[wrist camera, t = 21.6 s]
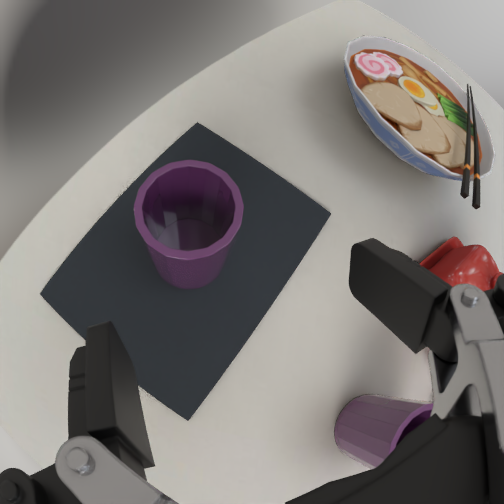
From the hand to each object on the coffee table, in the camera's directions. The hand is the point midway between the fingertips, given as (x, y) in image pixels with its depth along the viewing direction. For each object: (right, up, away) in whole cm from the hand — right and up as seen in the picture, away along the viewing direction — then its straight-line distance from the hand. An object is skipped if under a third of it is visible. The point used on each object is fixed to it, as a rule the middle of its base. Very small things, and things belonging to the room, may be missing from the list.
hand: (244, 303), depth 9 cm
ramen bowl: (+20, +17, +26) cm, 37 cm away
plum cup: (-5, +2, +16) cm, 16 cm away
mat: (-5, +1, +16) cm, 17 cm away
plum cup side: (+10, -14, +14) cm, 22 cm away
